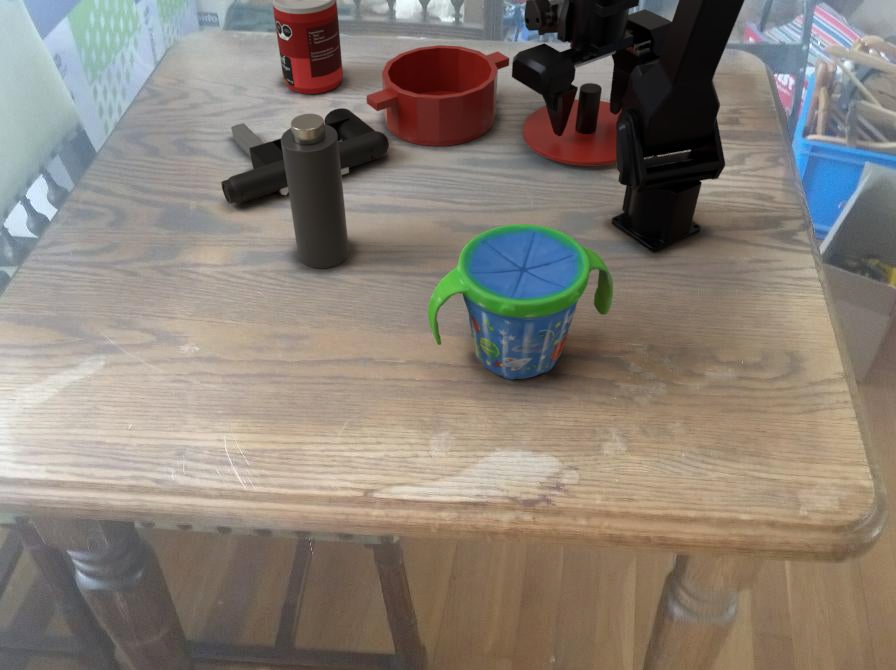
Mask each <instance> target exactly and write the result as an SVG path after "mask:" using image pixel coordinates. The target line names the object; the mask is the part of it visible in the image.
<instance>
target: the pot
mask: <svg viewBox="0 0 896 670" xmlns="http://www.w3.org/2000/svg"><path fill="white" fill-rule="evenodd" d="M509 66H510V57H508V56H507V55H505V54H504V53H502V52H500V51H499V50H498V51H495V52H492V53H489V54H485V53H483V52H481V51H480V50H476V49H472V48H469V47H465V46H461V45H443V44H438V45H430V46H421V47H417V48H413V49H411V50H407V51H404V52H400V53H399V54H397V55H396V56H394V57H393V58H391V59H390V60H388V61H387V62H386V64H385V65H384V67H383V70H382V71H381V82H382V84H381V85H382V89H381V90H379V91H378V90H377V91H375V92H372V93H370V94H367V95H366V104H367V105H368V106H370V107H371V108H372V109H373V110H375V111H376V112H380V111H382V110H383V117H384V121H385V125H386V128H387V130H389V132H390V133H392V135H393V136H394V137H395V136H396V137H397V138H398V139H400V140H402V141H405V142H408V143H412V144H416V145H422V146H426V147H427V146H430V147H447V146H456V145H459V144H460V145H461V144H464V143H467V142H470V141H473V140H475V139H478V138H480V137H481V136H483V135H485V134H486V133H487V132H488V131H489V130H491V128H492V126H493V125H494V123H495V118H496V113H497V96H498V95H497V94H498V74H499V73H498V72H499V70H502V69H504V68H507V67H509Z"/></svg>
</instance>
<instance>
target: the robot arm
mask: <svg viewBox="0 0 896 670" xmlns="http://www.w3.org/2000/svg"><path fill="white" fill-rule="evenodd" d="M745 1H746V0H678V2H677V5H676V9H675V11H674V14H673V16H672V19H673V20H672V19H667V18H665V17H663V16H661V15H659V14H657V13H655V12H652V11H650V10H648V9H646V8H644V9H642V10H638V11H636V12H635V11H634V12H632V13H630V9H633V8H636V7H639V5H640V0H526V1H525V7H524V13H523V14H524V15H523V17H524V24H525V28H526V29H527V30H528V31H529V32H531V31H532V32H533V31H534V32H535V31H537V34H538V36H544V35H545V34H556V35H557V36H556V40H558V41H560V42H562V43H569V48H568V49H564V50H562V51H560V50H558V49H555V48H554V47H552V46H551V45H549V44H547V43H545V42H544V43H541V44H539V45H538V44H537V45H535V46H532V47H529V48H525V49H522V50H521V51H518V52H517V53H516V54H515V55H514V56H513V58H512V63H511V64H512V65H511V78H512V79H514V80H516V81H517V82H519V83H520V84H522V85H524V86H526V87H527V88H528V89H531V90H532V91H534V92H535V93H537V94H539V95H540V96H542V99H543V101H544V104H545V106H546V108H547V111H548V115H549V118H550V122H551V125H552V129H553V132H554V134H556V135H557V136H562V135H563V132H564V130H565V128H566V125H567V122H568V119H569V115H570V112H571V109H572V106H573V103H574V100H576V96H577V93H578V89H579V88H578V86H576V85H575V84H573V82H574V81H575V79H576V69H577V68H579V67H582V66H585V65H588V64H590V63H591V64H592V63H594V62H596V61H599V60H602V59H605V58H607V57H610V56H611V58H612V61H613V69H612V77H611V84H610V85H611V86H610V95H609V102H610V112H611V113H613V114H615V115H616V114H618V113H619V112H620V111H621V112H620V114H619V116H618V119H617V122H616V163H615V164H616V170H617V172H618V173H619V174H618V181H617V182H618V183H619V184H620V185H623V186H625V190H624V196H623V203H622V206H621V207H622V208H621V209H622V211H623V212H622V213H620V214H618V215H615V216H613V217H612V218H611V222H610V223H611V224H612V225H613V226H614V227H616V228H617V229H618V230H620V231H621V232H622V233H624V234H626V235H627V236H629V237H630V238H631V239H633V240H634V241H636V242H637V243H639V244H640V245H641V246H643V247H644V248H646V249H647V250H649V251H650V252H652V253H657V252H660V251H662V250H664V249H666V248H669V247H671V246H672V245H675V244H677V243H680V242H681V241H684V240H686V239H688V238H690V237H692V236H695V235H696V234H699V233H700V232H701V230H702V226H701V225H700V224H699V223H697V222H695V221H694V215H695V212H696V208H697V203H698V200H699V197H700V196H699V195H700V192H701V188H702V182H703V181H706V180H717V179H719V177H720V176H721V174H722V172H723V170H724V169H725V167H726V159H725V155H724V150H723V144H722V139H721V132H720V128H719V122H718V118H717V117H718V114H719V111H720V108H721V101H720V98H719V95H718V93H717V89H716V86H715V83H714V77H715V74H716V71H717V70H718V67H719V64H720V62H721V60H722V57H723V55H724V52H725V50H726V47H727V45H728V42H729V40H730V37H731V35H732V33H733V30H734V28H735V26H736V23H737V21H738V18H739V16H740V13H741V10H742V8H743V6H744V3H745ZM670 20H672V21H670ZM621 109H622V110H621Z"/></svg>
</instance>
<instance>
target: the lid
mask: <svg viewBox="0 0 896 670" xmlns="http://www.w3.org/2000/svg"><path fill="white" fill-rule="evenodd" d="M602 91H603V89H602V86H601V85H599V84H597V83H595V82H594V83H593V82H587V83H584V84H581V85H580V87H579V93H578V99H575V100H574V103H573V106H572V109H571V112H570V115H569V119H568V122H567V125H566V128H565V130H564V132H563V135H562V136H557V135H556V134H554V132H553V129H552V125H551V122H550V118H549V115H548V111H547V108H546V105H544V106H541V107H539V108H537V109H536V110H534V111H532V112H531V113H530V114H529V115H528V116H527V117H526V119H525V120H524V123H523V126H522V137H523V140H524V141H525V143H526V145H527V146H528V147H529V148H530V149H532V150H533V151H534V152H535V153H537V154H538V155H540V156H542V157H544V158H547V159H549V160H551V161H555V162H558V163H561V164H567V165H570V166H571V165H573V166H580V167H581V166H582V167H583V166H584V167H598V166H606V165H607V166H608V165H613V164H617V163H616V122H617V119H618V116H619V114H620V112H621V111H620V112H619V113H618V114H616V115H615V114H613V113H611V112H610V101H605V100H601V96H602ZM621 110H622V109H621Z"/></svg>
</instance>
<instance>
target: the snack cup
mask: <svg viewBox="0 0 896 670" xmlns="http://www.w3.org/2000/svg"><path fill="white" fill-rule="evenodd" d="M594 270H598V279H597V287H596V289H595V292H594V296H593V305H594V308H595V310H597V312H598V313H599V314H600V315H602V316H605V315H607V314H608V313H609V312H610V309H611V306H612V302H613V297H614V282H613V277H612V274H611V272H610V270H609V268H608V265H606V263H605V262H604V260H603V259H602V258H601V257H600V255H598V254H597V253H596V252H595V251H594V250H592V249H591V248H587V247H585V246H582V245H581V244H580V242H578V241H577V240H576V239H574V238H573V237H571V235H568V234H566V233H565V232H562V231H560V230H557V229H555V228H551V227H547V226H543V225H537V224H530V223H529V224H528V223H514V224H505V225H501V226H498V227H494V228H493V227H492V228H491V229H488V230H485V231H483V232H481V233H479V234H478V235H476V236H474V237H473V238H472V239H471V240H469V241H468V242H467V244H465V246H464V247H463V248H462V250H461V252H460V254H459V257H458V263H457V265H456V266H455V267H454V268H453V269H452V270H451V271H449V272H448V273H446V274H445V276H442V278H441V280H440V282H439V283H438V284H437V285H436V287H435V288H434V290H433V292H432V295H431V297H430V299H429V303H428V306H427V320H428V323H429V327H430V329H431V332H432V335H433V338H434V340H435V342H436V344H437V345H438V346H441V345H442V341H441V340H442V339H441V335H440V330H439V329H440V328H439V321H438V313H439V310H440V308H441V307H442V306H443V305H444V304H445V303H446V302H447V301H449V299H450V298H451V297H453V296H455V295H458V294H459V295H460V294H461V295H462V298H463V300H464V304H465V307H466V310H467V312H468V322H469V327H470V333H471V339H472V344H473V350H474V353H475V356H476V359H477V361H478V362H480V363H481V364H482V365H483V367H485V368H486V369H487V370H489V371H490V372H491V373H493V374H496V375H498V376H501V377H503V378H504V379H506V380H512V381H513V380H515V379H525V380H526V379H529V378H533V377H536V376H538V375H540V374H546V373H548V372H549V371H551V370H552V369H553V368H554V366H555V364H556V363H557V361H559V359H560V356H561V354H562V352H563V349H564V346H565V343H566V341H567V337H568V333H569V331H570V330H569V329H570V326H571V324H572V322H573V318H574V314H575V313H576V310H577V304H578V301H579V300H580V298H581V297H582V296H583V294H584V292H585V290H586V288H587V287H588V282H589V278H590V273H591V272H592V271H594Z"/></svg>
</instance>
